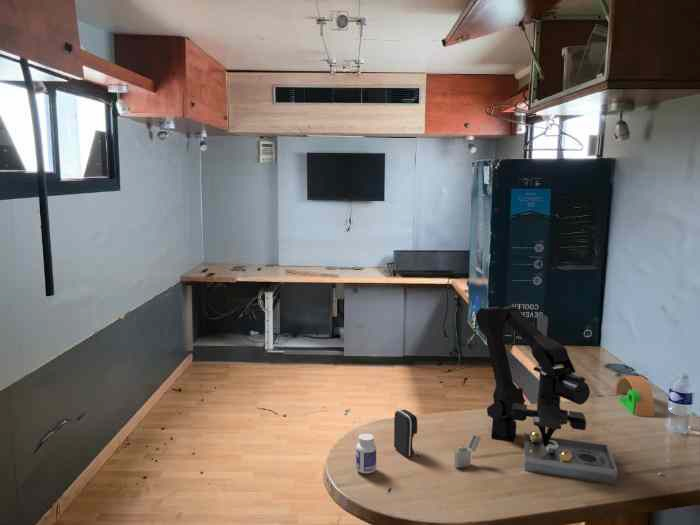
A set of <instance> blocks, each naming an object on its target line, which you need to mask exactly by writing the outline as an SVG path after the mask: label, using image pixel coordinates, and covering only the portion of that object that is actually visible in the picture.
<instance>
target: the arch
mask: <svg viewBox="0 0 700 525" xmlns="http://www.w3.org/2000/svg"><path fill="white" fill-rule="evenodd" d="M628 390H634V391H638V392H639V394H640V402H636V408H635V415H634V416H637V417H638V416H639V417H653V418H654V417H655V401H654V396H653V395H654V394H653V392H652V389H651V386H650V383H649V382H648V380H647V379H646V378H645V377H644V376H641V375H628V374H627V375H626V374H625V375H622V374H621V375H620V376H619V377H618V379H617V381H616V384H615V389H614V393H615V394H616V395H617V394H618V395H627V393H628Z"/></svg>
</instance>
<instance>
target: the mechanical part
mask: <svg viewBox="0 0 700 525" xmlns="http://www.w3.org/2000/svg"><path fill="white" fill-rule="evenodd" d="M618 401H619V402H620V403H621V404H622V405H623V406H624V407H625V408H626V409H627V410H628V411H629V412H630V413H631V415H633V416H636V415H635V408H636V402H640V394H639V392H638V391H634V390H628V393H627V394H626V397H619V398H618Z"/></svg>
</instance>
